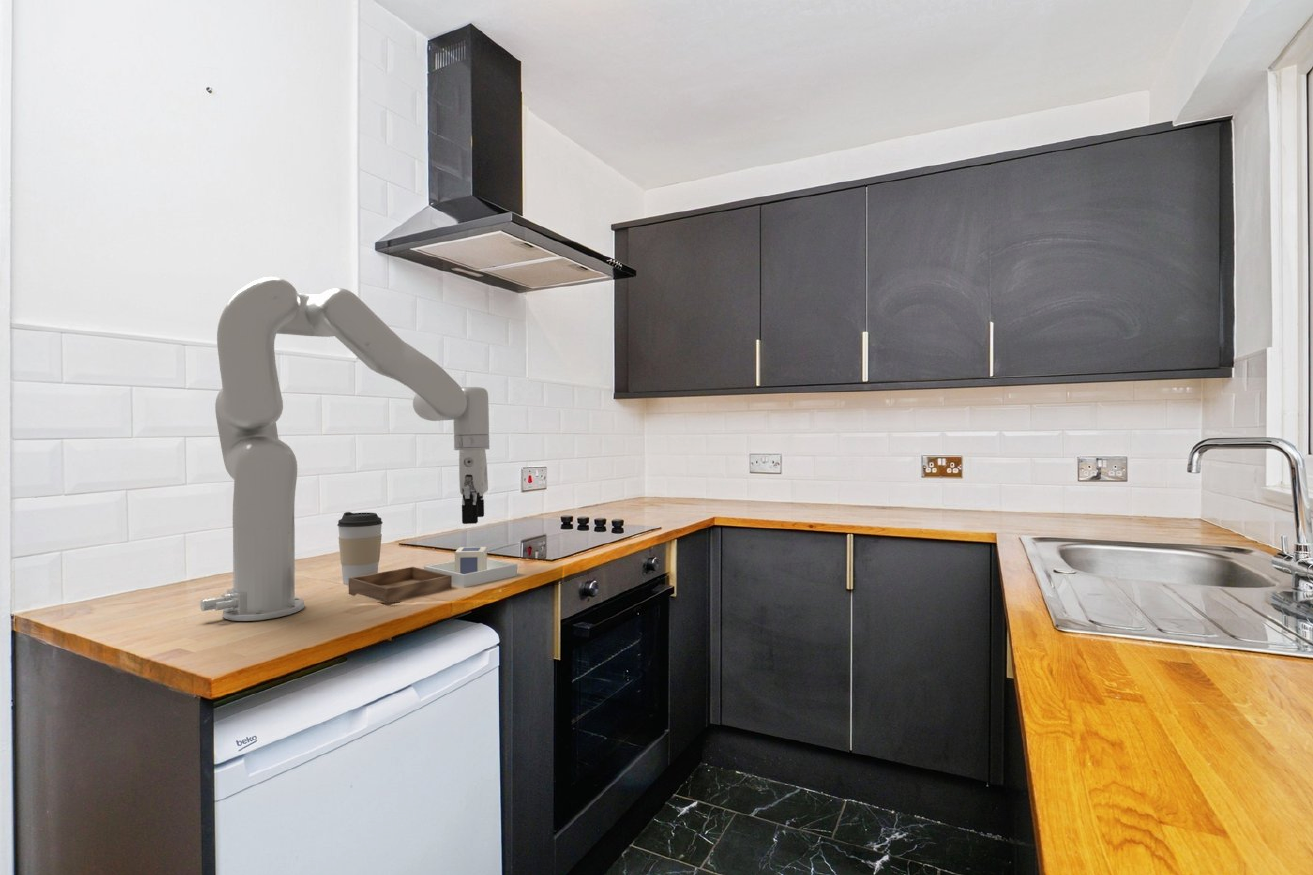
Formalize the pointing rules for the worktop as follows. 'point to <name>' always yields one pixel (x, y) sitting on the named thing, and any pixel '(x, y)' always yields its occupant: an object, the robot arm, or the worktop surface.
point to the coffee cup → (359, 544)
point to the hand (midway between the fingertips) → (473, 520)
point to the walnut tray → (399, 584)
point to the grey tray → (492, 573)
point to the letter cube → (470, 559)
